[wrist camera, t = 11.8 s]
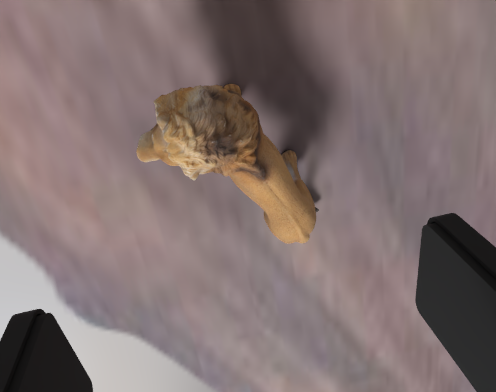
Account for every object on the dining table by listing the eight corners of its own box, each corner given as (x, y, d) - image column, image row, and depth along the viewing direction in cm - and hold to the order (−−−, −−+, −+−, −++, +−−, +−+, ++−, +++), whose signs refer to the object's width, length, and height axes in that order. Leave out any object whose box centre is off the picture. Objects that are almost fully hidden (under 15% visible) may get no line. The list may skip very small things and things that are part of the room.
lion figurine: (132, 103, 24) (112, 167, 16) (189, 34, 23) (197, 69, 15) (290, 228, 31) (329, 316, 23) (342, 181, 29) (403, 257, 22)
